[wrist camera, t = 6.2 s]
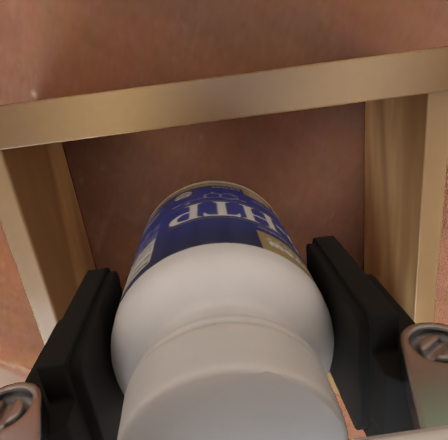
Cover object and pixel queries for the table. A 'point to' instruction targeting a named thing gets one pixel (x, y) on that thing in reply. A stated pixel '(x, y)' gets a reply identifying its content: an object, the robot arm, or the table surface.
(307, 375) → the pill bottle
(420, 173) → the wooden box
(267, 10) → the table surface
